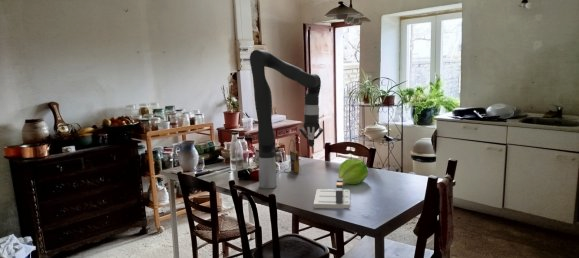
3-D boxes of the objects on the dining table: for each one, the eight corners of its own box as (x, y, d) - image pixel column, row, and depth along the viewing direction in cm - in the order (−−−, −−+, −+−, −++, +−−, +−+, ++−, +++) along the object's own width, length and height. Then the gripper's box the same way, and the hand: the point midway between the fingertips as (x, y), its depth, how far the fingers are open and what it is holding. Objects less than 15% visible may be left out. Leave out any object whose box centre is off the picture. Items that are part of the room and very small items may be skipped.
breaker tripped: (336, 197, 198) (336, 184, 197) (336, 194, 202) (336, 182, 201) (342, 197, 198) (342, 184, 197) (342, 194, 202) (342, 182, 201)
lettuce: (355, 195, 214) (332, 193, 224) (376, 176, 229) (354, 175, 240) (348, 170, 210) (325, 169, 221) (370, 153, 225) (348, 153, 236)
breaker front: (335, 202, 191) (335, 190, 190) (336, 200, 194) (335, 188, 193) (342, 203, 190) (342, 190, 189) (342, 200, 194) (342, 188, 193)
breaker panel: (313, 207, 191) (313, 203, 191) (317, 192, 213) (316, 189, 213) (349, 208, 189) (349, 204, 189) (349, 193, 210) (349, 189, 210)
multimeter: (277, 170, 258) (276, 140, 255) (291, 168, 262) (291, 138, 259) (287, 176, 245) (286, 144, 242) (302, 173, 249) (301, 142, 246)
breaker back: (336, 192, 206) (336, 180, 205) (337, 189, 210) (336, 178, 209) (342, 192, 206) (342, 180, 205) (342, 189, 210) (342, 178, 209)
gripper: (325, 112, 210) (324, 145, 213) (299, 112, 212) (299, 144, 215) (323, 114, 203) (323, 148, 205) (297, 114, 205) (297, 147, 208)
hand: (311, 146), depth 210 cm, fingers closed
